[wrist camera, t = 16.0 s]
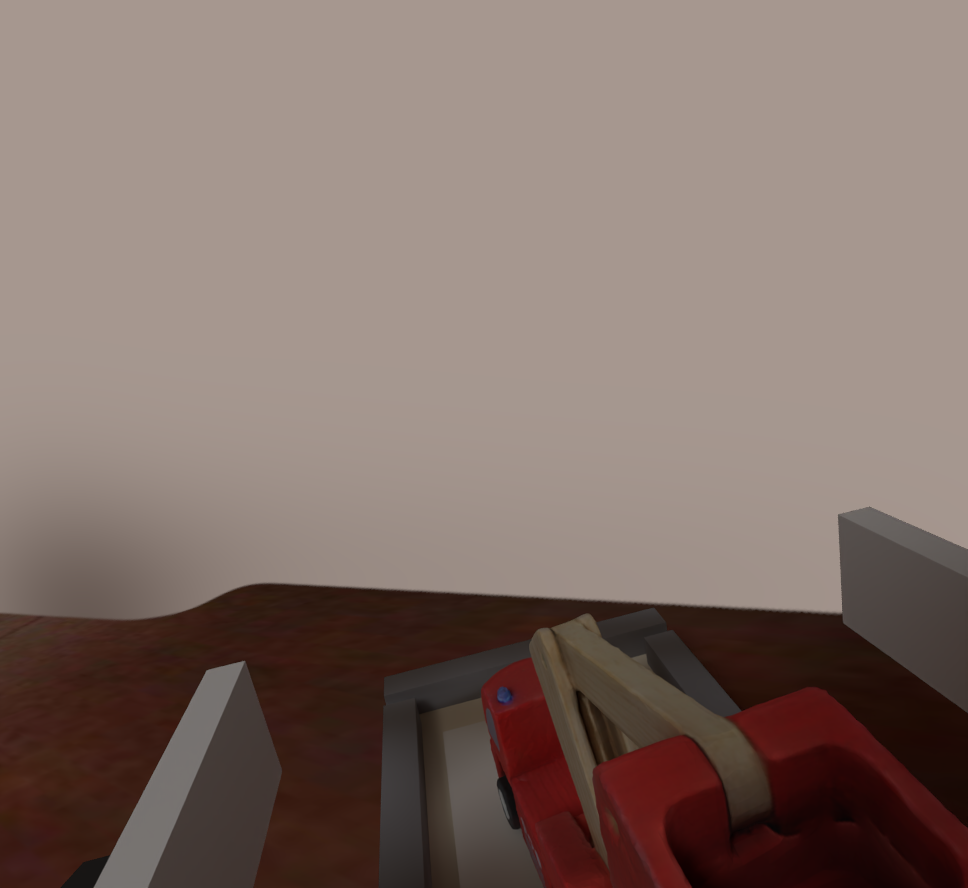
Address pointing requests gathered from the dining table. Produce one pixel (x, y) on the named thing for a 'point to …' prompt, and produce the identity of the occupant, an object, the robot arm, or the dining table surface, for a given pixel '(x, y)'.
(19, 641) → the dining table surface
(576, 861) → the toy fire truck
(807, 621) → the dining table surface
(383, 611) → the dining table surface
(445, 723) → the dock
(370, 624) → the dining table surface
